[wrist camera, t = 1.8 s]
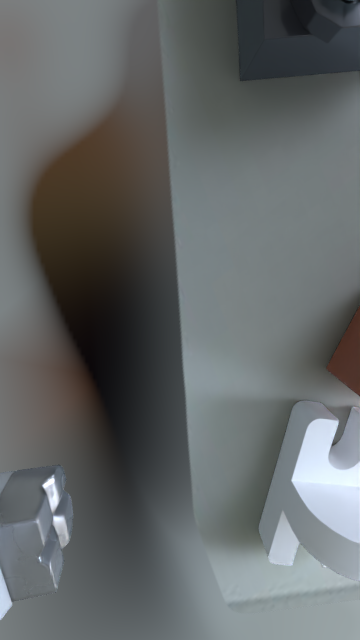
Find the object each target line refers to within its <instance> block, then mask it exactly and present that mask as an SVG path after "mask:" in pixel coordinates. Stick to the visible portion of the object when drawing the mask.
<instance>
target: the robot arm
mask: <svg viewBox="0 0 360 640" xmlns="http://www.w3.org/2000/svg"><path fill="white" fill-rule="evenodd" d="M65 482H66V476H65V473H64V469H63V467H62V466H61V465H53V466H46V467H38V468H31V469H23V470H17V471H9V472H3V473H0V620H1V619H2V617H3V616H4V615H5V614H6V612H7V611H8V610H9V608H10V607H11V606H12V602H14V601H18V600H23V599H28V598H33V597H38V596H42V595H47V594H52V593H56V591H57V587H58V583H59V579H60V576H61V572H62V568H63V564H64V557H63V554H62V549H63V548H64V547H65V545H66V544H67V543H68V542H69V540H70V536H71V532H72V523H73V509H72V501H71V497H70V495H69V494H68V493H67V492H65V491H64V490H63V488H64V485H65Z"/></svg>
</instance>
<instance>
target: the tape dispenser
mask: <svg viewBox="0 0 360 640" xmlns="http://www.w3.org/2000/svg"><path fill="white" fill-rule="evenodd" d="M338 424H339V420H338V419H337V418H336V417H335V416H334V415H333V414H332V413H331V412H330V411H329V410H328V409H327V408H326V407H325V406H324V405H323V404H322V403H321V402H313V401H299V402H297V403H296V404H295V405H294V406H293V408H292V411H291V415H290V418H289V422H288V425H287V429H286V432H285V436H284V439H283V443H282V446H281V450H280V453H279V457H278V460H277V464H276V467H275V471H274V474H273V478H272V481H271V485H270V488H269V492H268V496H267V499H266V503H265V506H264V510H263V513H262V517H261V520H260V524H259V528H258V530H259V533H260V536H261V539H262V542H263V544H264V547H265V550H266V553H267V556H268V559H269V561H270V562H271V563H273V564H277V565H292V564H293V561H294V558H295V555H296V552H297V549H298V546H299V543H301V544H302V545H303V547H304V548H305V549H306V550H307V551H308V552H309V553H310V554H311V555H312V556H313V557H314V558H316V559H317V560H318V561H319V562H320V563H321V565H322V567H323V568H329V569H331V570H333V571H334V572H336V573H338V574H340V575H342V576H345V577H347V578H350V579H352V580H356V581H360V407H352V408H351V411H350V414H349V417H348V420H347V423H346V426H345V429H344V432H343V435H342V438H341V439H340V441H339V442H338V443H337V444H335V445H333V446H331V445H332V442H333V439H334V436H335V433H336V430H337V427H338Z"/></svg>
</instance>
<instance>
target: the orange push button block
mask: <svg viewBox="0 0 360 640" xmlns="http://www.w3.org/2000/svg"><path fill="white" fill-rule="evenodd" d="M326 370H328V371H329V372H330V373H331V374H333V375H334V376H335V377H336V378H338V379H339V380H340V381H341V382H343V383H344V384H345V385H346V386H348V387H349V388H350V389H351V390H353V391H354V392H355V393H356V394H358V395H359V396H360V306H359V307H358V309H357V311H356V313H355V315H354V317H353V319H352V321H351V322H350V324H349V326H348V328H347V330H346V332H345V334H344V335H343V337H342V339H341V341H340V343H339V345H338V347H337V349H336V350H335V352H334V354H333V356H332V358H331V360H330V362H329V364H328V365H327V367H326Z"/></svg>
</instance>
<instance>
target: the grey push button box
mask: <svg viewBox="0 0 360 640" xmlns="http://www.w3.org/2000/svg"><path fill="white" fill-rule="evenodd" d="M236 5H237V25H238V46H239V67H240V81H247V80H258V79H270V78H281V77H293V76H304V75H316V74H327V73H338V72H350V71H360V0H356V1H347V0H236Z"/></svg>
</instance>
